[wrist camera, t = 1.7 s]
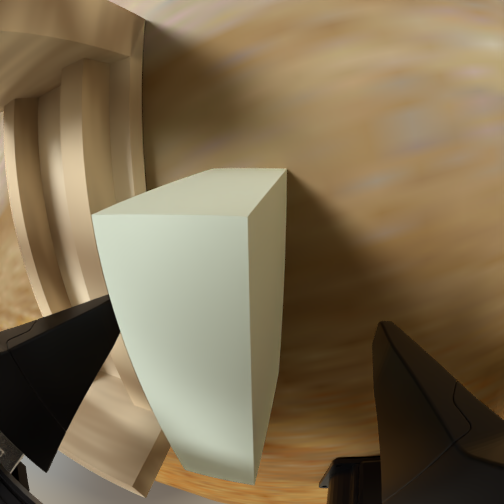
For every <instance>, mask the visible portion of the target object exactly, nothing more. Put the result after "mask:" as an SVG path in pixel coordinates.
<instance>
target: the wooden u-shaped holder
mask: <svg viewBox="0 0 504 504" xmlns="http://www.w3.org/2000/svg"><path fill="white" fill-rule="evenodd" d="M144 28H145V19H144V18H142V17H140V16H138V15H136V14H134V13H132V12H130V11H128V10H126V9H124V8H122V7H120V6H118V5H116V4H114V3H112V2H110V1H108V0H0V112H3V111H4V155H5V168H6V178H7V186H8V193H9V200H10V206H11V211H12V217H13V222H14V226H15V231H16V235H17V239H18V243H19V247H20V251H21V255H22V258H23V262H24V265H25V268H26V272H27V275H28V278H29V281H30V284H31V287H32V290H33V292H34V295H35V298H36V301H37V303H38V306H39V308H40V311H41V313H42V316H43V317H46V316H48V315H51V314H54V313H57V312H60V311H62V310H65V309H68V308H71V307H74V306H76V305H79V304H82V303H85V302H88V301H90V300H93V299H96V298H99V297H102V296H104V295H107V294H109V293H108V289H107V285H106V282H105V278H104V274H103V270H102V266H101V261H100V257H99V252H98V248H97V243H96V238H95V233H94V227H93V222H92V216H91V215H92V214H94V213H97V212H99V211H101V210H103V209H106V208H108V207H110V206H113V205H115V204H117V203H120V202H122V201H125V200H127V199H129V198H132V197H134V196H137V195H139V194H142V193H145V192H146V181H145V169H144V155H143V135H142V59H143V41H144ZM170 446H171V445H170V443H169V441H168V440H167V438H166V436H165V434H164V432H163V430H162V428H161V426H160V424H159V422H158V420H157V418H156V416H155V414H154V412H153V410H152V408H151V406H150V404H149V402H148V400H147V397H146V395H145V393H144V391H143V388H142V386H141V384H140V381H139V379H138V377H137V374H136V372H135V369H134V367H133V364H132V362H131V359H130V357H129V354H128V351H127V349H126V346H125V343H124V340H123V337H122V335H121V332H120V334H119V336H118V338H117V340H116V342H115V344H114V346H113V348H112V350H111V352H110V354H109V355H108V357H107V359H106V360H105V362H104V364H103V365H102V367H101V369H100V371H99V372H98V374H97V376H96V378H95V379H94V381H93V383H92V385H91V386H90V388H89V390H88V392H87V394H86V395H85V397H84V399H83V401H82V403H81V405H80V406H79V408H78V410H77V412H76V414H75V416H74V418H73V420H72V422H71V424H70V426H69V428H68V430H67V431H66V434H65V436H64V438H63V440H62V442H61V444H60V446H59V448H58V450H59V451H61V452H62V453H63V454H65V455H66V456H68V457H69V458H71V459H72V460H74V461H76V462H77V463H79V464H80V465H82V466H84V467H85V468H87V469H89V470H90V471H92V472H94V473H96V474H97V475H99V476H101V477H103V478H105V479H107V480H109V481H111V482H112V483H114V484H116V485H118V486H120V487H123V488H125V489H127V490H129V491H131V492H133V493H136V494H138V495H140V496H143V497H145V498H146V497H147V495H148V492H149V490H150V488H151V486H152V484H153V482H154V480H155V478H156V476H157V474H158V472H159V470H160V467H161V465H162V463H163V461H164V459H165V457H166V455H167V453H168V451H169V449H170Z"/></svg>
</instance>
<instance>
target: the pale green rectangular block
mask: <svg viewBox="0 0 504 504" xmlns="http://www.w3.org/2000/svg"><path fill="white" fill-rule="evenodd" d="M286 204H287V169H282V168H213V169H210V170H206V171H203V172H200V173H197V174H194V175H191V176H188V177H185V178H183V179H180V180H177V181H174V182H171V183H169V184H166V185H163V186H160V187H158V188H155V189H152V190H150V191H147V192H145V193H142V194H139V195H137V196H134V197H132V198H129V199H127V200H125V201H122V202H120V203H117V204H115V205H113V206H110V207H108V208H106V209H103V210H101V211H99V212H97V213H94V214H92V215H91V216H92V222H93V227H94V233H95V238H96V243H97V248H98V252H99V257H100V261H101V266H102V270H103V274H104V278H105V282H106V285H107V289H108V293H109V296H110V300H111V303H112V307H113V310H114V313H115V316H116V319H117V323H118V326H119V329H120V332H121V335H122V337H123V340H124V343H125V346H126V349H127V351H128V354H129V357H130V359H131V362H132V364H133V367H134V369H135V372H136V374H137V377H138V379H139V381H140V384H141V386H142V388H143V391H144V393H145V395H146V397H147V400H148V402H149V404H150V406H151V408H152V410H153V412H154V414H155V416H156V418H157V420H158V422H159V424H160V426H161V428H162V430H163V432H164V434H165V436H166V438H167V440H168V441H169V443H170V445H171V447H172V449H173V450H174V452H175V454H176V455H177V457H178V459H179V461H180V462H181V464H182V466H183V467H184V469H185V470H188V471H191V472H195V473H198V474H202V475H206V476H210V477H214V478H219V479H223V480H228V481H233V482H238V483H244V484H250V485H254V484H255V480H256V476H257V472H258V468H259V464H260V460H261V455H262V451H263V447H264V442H265V438H266V433H267V429H268V424H269V419H270V414H271V409H272V405H273V400H274V394H275V389H276V384H277V379H278V374H279V362H280V347H281V331H282V314H283V294H284V271H285V244H286Z"/></svg>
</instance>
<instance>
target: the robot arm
mask: <svg viewBox="0 0 504 504" xmlns="http://www.w3.org/2000/svg"><path fill="white" fill-rule="evenodd" d="M119 334H120V329H119V326H118V323H117V319H116V316H115V313H114V310H113V307H112V303H111V300H110V296H109V294H107V295H104V296H102V297H99V298H96V299H93V300H90V301H88V302H85V303H82V304H79V305H76V306H74V307H71V308H68V309H65V310H62V311H60V312H57V313H54V314H51V315H48V316H46V317H43V318H40V319H38V320H34V321H32V322H29V323H26V324H23V325H20V326H17V327H14V328H11V329H7V330H4V331H1V332H0V504H42V503H41V502H40V501H39V500H38V499H37V498H36V497H34V496H33V495H32V494H31V493H30V492H29V485H28V479H27V473H26V466H25V465H24V464H23V463H22V462H21V461H20V460H21V459H22V458H23V456H24V455H26V456H27V457H28V458H29V459H30V460H31V461H32V462H33V463H35V464H36V465H37V466H38V467H40V468H41V469H42V470H43V471H45V472H46V473H47V471H48V470H49V468H50V466H51V463H52V461H53V459H54V457H55V455H56V453H57V450H58V448H59V446H60V444H61V442H62V440H63V438H64V436H65V434H66V431H67V430H68V428H69V426H70V424H71V422H72V420H73V418H74V416H75V414H76V412H77V410H78V408H79V406H80V405H81V403H82V401H83V399H84V397H85V395H86V394H87V392H88V390H89V388H90V386H91V385H92V383H93V381H94V379H95V378H96V376H97V374H98V372H99V371H100V369H101V367H102V365H103V364H104V362H105V360H106V359H107V357H108V355H109V354H110V352H111V350H112V348H113V346H114V344H115V342H116V340H117V338H118V336H119ZM372 353H373V382H374V395H375V403H376V411H377V420H378V430H379V442H380V456H381V457H375V458H356V459H336V460H333V461H332V463H331V465H330V466H329V468H328V470H327V471H326V473H325V474H324V476H323V478H322V479H321V481H320V482H319V487H320V488H328V496H327V504H504V420H503V419H502V418H500V417H499V416H498V415H497V414H495V413H494V412H493V411H492V410H490V409H489V408H488V407H487V406H485V405H484V404H483V403H482V402H481V401H479V400H478V399H477V398H476V397H475V396H473V395H472V394H471V393H470V392H469V391H468V390H467V389H466V388H465V387H464V386H463V385H461V384H460V383H459V382H458V381H457V382H456V379H455V378H454V377H453V376H452V375H451V374H450V373H449V372H447V371H446V370H445V369H444V368H443V367H442V366H441V365H440V364H439V363H438V362H437V361H435V360H434V359H433V358H432V357H431V356H430V355H429V354H428V353H427V352H426V351H424V350H423V349H422V348H421V347H420V346H419V345H418V344H417V343H415V342H414V341H413V340H412V339H411V338H410V337H409V336H408V335H406V334H405V333H404V332H403V331H402V330H401V329H400V328H398V327H397V326H396V325H395V324H394V323H393V322H391V321H380V322H379V324H378V326H377V329H376V333H375V336H374V340H373V344H372Z"/></svg>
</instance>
